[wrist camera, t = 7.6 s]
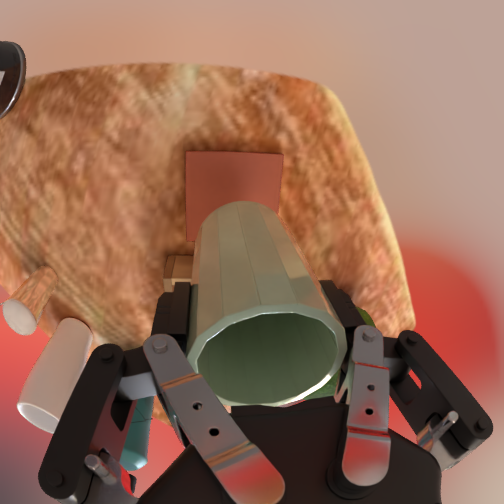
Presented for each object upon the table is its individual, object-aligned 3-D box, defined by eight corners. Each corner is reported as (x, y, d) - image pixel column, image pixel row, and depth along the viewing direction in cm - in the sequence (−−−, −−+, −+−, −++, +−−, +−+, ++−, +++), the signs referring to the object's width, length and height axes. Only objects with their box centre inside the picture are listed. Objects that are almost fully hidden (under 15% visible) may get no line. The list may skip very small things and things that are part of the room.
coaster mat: (187, 239, 29) (186, 241, 29) (186, 150, 25) (185, 151, 25) (274, 239, 30) (275, 241, 30) (282, 154, 26) (284, 154, 26)
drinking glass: (54, 305, 31) (8, 393, 18) (98, 319, 33) (65, 417, 20) (57, 339, 34) (24, 422, 20) (98, 352, 35) (74, 442, 22)
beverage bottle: (167, 369, 38) (160, 500, 21) (129, 376, 38) (112, 496, 21) (144, 339, 35) (123, 483, 17) (105, 348, 35) (74, 478, 18)
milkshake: (40, 248, 27) (-3, 298, 18) (68, 281, 30) (35, 337, 21) (24, 267, 28) (-15, 316, 19) (50, 297, 30) (19, 351, 22)
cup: (197, 284, 20) (193, 410, 11) (195, 200, 17) (179, 304, 8) (282, 283, 21) (325, 400, 12) (293, 202, 18) (366, 298, 9)
